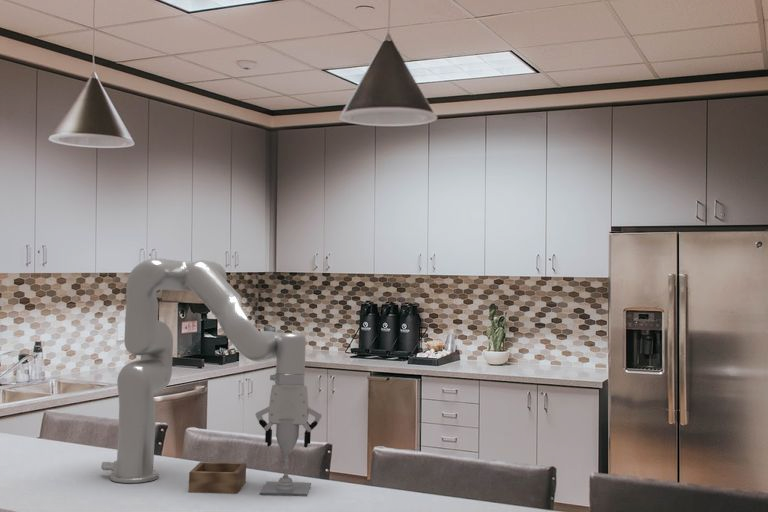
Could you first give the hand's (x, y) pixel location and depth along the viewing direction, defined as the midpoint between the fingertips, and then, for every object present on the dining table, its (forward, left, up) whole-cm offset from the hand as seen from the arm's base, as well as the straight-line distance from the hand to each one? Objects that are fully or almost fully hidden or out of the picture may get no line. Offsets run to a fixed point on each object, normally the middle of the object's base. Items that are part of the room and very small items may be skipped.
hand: (287, 445), depth 202 cm
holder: (-18, +1, -11) cm, 21 cm away
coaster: (0, 0, -11) cm, 11 cm away
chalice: (0, 0, -11) cm, 11 cm away
